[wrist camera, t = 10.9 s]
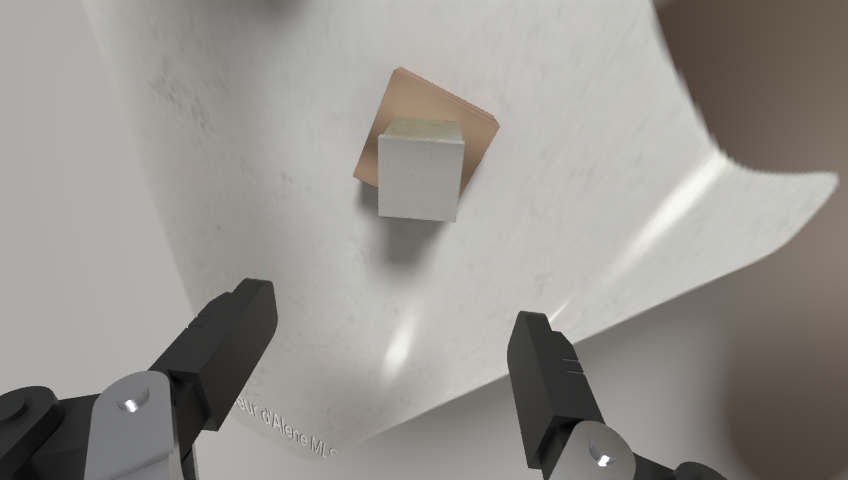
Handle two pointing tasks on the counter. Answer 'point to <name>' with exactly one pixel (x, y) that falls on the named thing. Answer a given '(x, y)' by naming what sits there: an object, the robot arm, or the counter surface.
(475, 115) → the walnut block
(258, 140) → the counter surface
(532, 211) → the counter surface
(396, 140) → the tea tin
